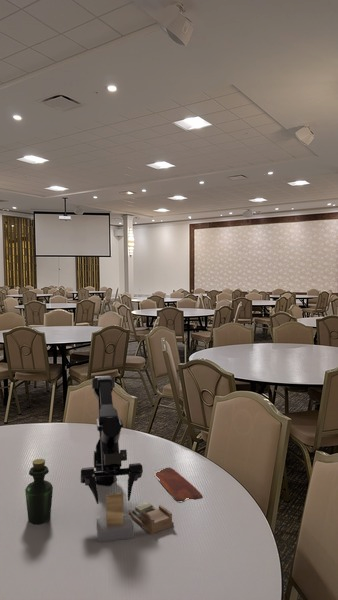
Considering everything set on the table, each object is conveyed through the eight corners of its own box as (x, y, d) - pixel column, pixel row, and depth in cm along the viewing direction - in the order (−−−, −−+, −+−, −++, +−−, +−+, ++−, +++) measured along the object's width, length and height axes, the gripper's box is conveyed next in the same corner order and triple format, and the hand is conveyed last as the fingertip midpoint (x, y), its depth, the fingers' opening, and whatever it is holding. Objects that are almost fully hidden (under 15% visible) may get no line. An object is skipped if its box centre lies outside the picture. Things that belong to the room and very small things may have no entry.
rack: (128, 514, 140) (128, 502, 140) (151, 507, 145) (151, 495, 145) (150, 534, 130) (150, 520, 130) (173, 525, 134) (173, 512, 134)
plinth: (96, 528, 133) (96, 518, 133) (130, 524, 135) (130, 514, 135) (97, 542, 126) (97, 531, 126) (133, 537, 128) (133, 527, 128)
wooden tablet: (204, 499, 152) (204, 494, 152) (177, 505, 148) (177, 500, 148) (173, 468, 176) (173, 464, 176) (149, 472, 172) (149, 468, 172)
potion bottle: (54, 511, 142) (53, 455, 141) (51, 525, 134) (51, 466, 133) (27, 513, 141) (26, 456, 140) (23, 527, 133) (22, 467, 132)
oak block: (106, 521, 131) (106, 494, 130) (122, 519, 132) (122, 493, 131) (106, 526, 128) (106, 498, 128) (123, 524, 129) (123, 497, 129)
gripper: (80, 442, 135) (81, 495, 125) (142, 437, 139) (148, 489, 129) (80, 457, 144) (81, 508, 134) (138, 452, 148) (143, 502, 138)
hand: (113, 501), depth 133 cm, fingers open, 9 cm apart
